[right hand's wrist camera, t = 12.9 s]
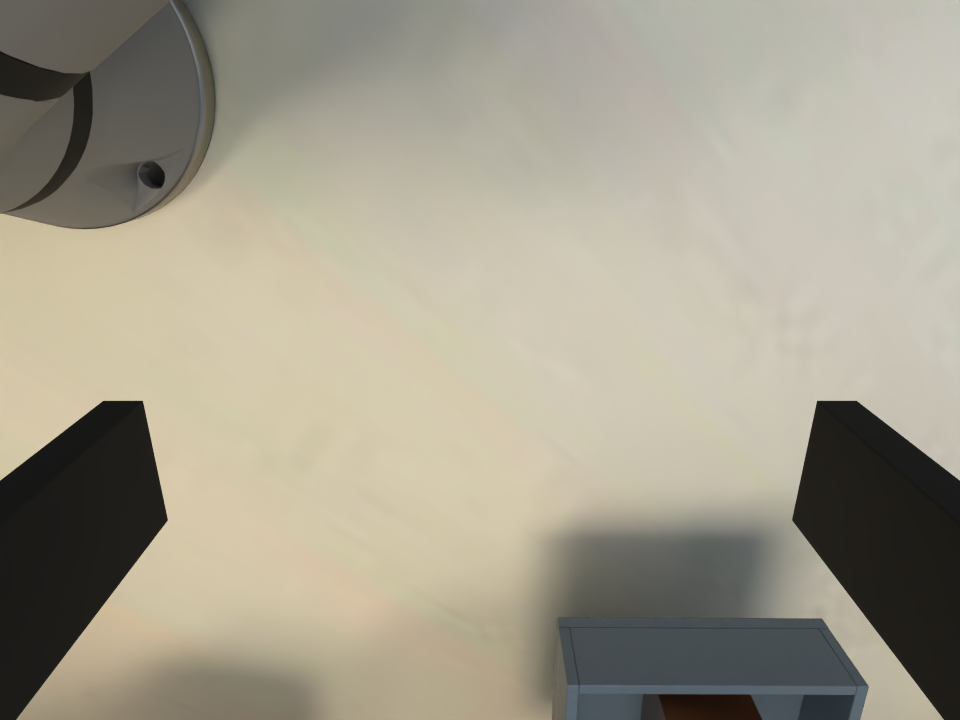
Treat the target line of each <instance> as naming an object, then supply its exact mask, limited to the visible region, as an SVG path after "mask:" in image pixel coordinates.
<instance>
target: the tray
mask: <svg viewBox="0 0 960 720" xmlns="http://www.w3.org/2000/svg"><path fill="white" fill-rule="evenodd" d="M868 688H869V687H868V685H867V683H866V682H865V680H864V679H863V677H862V676H861V675H860V673H859V672H858V670H857V669H856V667H855V666H854V664H853V663H852V662H851V660H850V659H849V657H848V656H847V654H846V653H845V651H844V650H843V649H842V647H841V646H840V644H839V643H838V641H837V640H836V638H835V637H834V636H833V634H832V633H831V631H830V630H829V628H828V627H827V625H826V624H825V622H824V621H823V619H792V618H557V629H556V648H555V668H554V687H553V706H552V720H641V712H642V703H643V694H749V695H751V696H752V699H753V701H754V703H755V705H756V707H757V709H758V711H759V713H760V715H761V718H762V720H860V718H861V714H862V710H863V706H864V703H865V699H866V695H867V692H868Z"/></svg>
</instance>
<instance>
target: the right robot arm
mask: <svg viewBox="0 0 960 720" xmlns="http://www.w3.org/2000/svg"><path fill="white" fill-rule="evenodd" d="M214 111H215V96H214V85H213V78H212V72H211V67H210V63H209V59H208V55H207V52H206V49H205V46H204V43H203V40H202V38H201V35H200V33H199V31H198V29H197V26H196V24H195V22H194V20H193V18H192V16H191V15H190V13H189V11H188V9H187V7H186V6H185V4H184V3H183V1H182V0H0V213H2V214H6V215H11V216H15V217H19V218H23V219H28V220H32V221H36V222H40V223H45V224H49V225H54V226H59V227H65V228H74V229H95V228H104V227H110V226H114V225H118V224H122V223H125V222H128V221H132V220H135V219H138V218H141V217H143V216H146V215H149V214H151V213H153V212H155V211H156V210H158V209H160V208H162V207H163V206H165V205H166V204H168V203H169V202H171V201H172V200H173V199H174V198H175V197H176V196H178V195H179V194H180V193H181V192H182V191H183V189H184V188H185V187H186V186H187V185H188V184H189V182H190V181H191V180H192V178H193V177H194V175H195V174H196V172H197V170H198V169H199V167H200V165H201V163H202V161H203V159H204V156H205V154H206V152H207V148H208V145H209V142H210V139H211V134H212V128H213V122H214ZM167 521H168V519H167V514H166V509H165V504H164V500H163V495H162V490H161V485H160V481H159V476H158V471H157V466H156V462H155V457H154V452H153V447H152V442H151V438H150V433H149V428H148V423H147V419H146V414H145V409H144V404H143V401H103V402H101V403H100V404H99V405H98V406H96V407H95V408H94V409H92V410H91V411H90V412H88V413H87V414H86V415H85V416H83V417H82V418H81V419H79V420H78V421H77V422H76V423H74V424H73V425H72V426H70V427H69V428H68V429H67V430H65V431H64V432H63V433H61V434H60V435H59V436H57V437H56V438H55V439H54V440H52V441H51V442H50V443H48V444H47V445H46V446H45V447H43V448H42V449H41V450H39V451H38V452H37V453H35V454H34V455H33V456H32V457H30V458H29V459H28V460H26V461H25V462H24V463H23V464H21V465H20V466H19V467H17V468H16V469H15V470H13V471H12V472H11V473H10V474H8V475H7V476H6V477H4V478H3V479H2V480H1V481H0V720H16V719H17V718H18V716H19V715H20V714H21V712H22V711H23V710H24V708H25V707H26V706H27V705H28V703H29V702H30V701H31V699H32V698H33V697H34V695H35V694H36V693H37V691H38V690H39V689H40V687H41V686H42V685H43V683H44V682H45V681H46V680H47V678H48V677H49V676H50V674H51V673H52V672H53V670H54V669H55V668H56V666H57V665H58V664H59V662H60V661H61V660H62V659H63V657H64V656H65V655H66V653H67V652H68V651H69V649H70V648H71V647H72V645H73V644H74V643H75V641H76V640H77V639H78V637H79V636H80V635H81V634H82V632H83V631H84V630H85V628H86V627H87V626H88V624H89V623H90V622H91V620H92V619H93V618H94V616H95V615H96V614H97V613H98V611H99V610H100V609H101V607H102V606H103V605H104V603H105V602H106V601H107V599H108V598H109V597H110V595H111V594H112V593H113V591H114V590H115V589H116V588H117V586H118V585H119V584H120V582H121V581H122V580H123V578H124V577H125V576H126V574H127V573H128V572H129V570H130V569H131V568H132V567H133V565H134V564H135V563H136V561H137V560H138V559H139V557H140V556H141V555H142V553H143V552H144V551H145V549H146V548H147V547H148V545H149V544H150V543H151V542H152V540H153V539H154V538H155V536H156V535H157V534H158V532H159V531H160V530H161V528H162V527H163V526H164V524H165V523H166V522H167ZM792 521H793V522H794V523H795V524H796V526H797V527H798V528H799V530H800V531H801V532H802V534H803V535H804V536H805V538H806V539H807V540H808V542H809V543H810V544H811V545H812V547H813V548H814V549H815V551H816V552H817V553H818V555H819V556H820V557H821V559H822V560H823V561H824V563H825V564H826V565H827V567H828V568H829V569H830V570H831V572H832V573H833V574H834V576H835V577H836V578H837V580H838V581H839V582H840V584H841V585H842V586H843V588H844V589H845V590H846V591H847V593H848V594H849V595H850V597H851V598H852V599H853V601H854V602H855V603H856V605H857V606H858V607H859V609H860V610H861V611H862V613H863V614H864V615H865V616H866V618H867V619H868V620H869V622H870V623H871V624H872V626H873V627H874V628H875V630H876V631H877V632H878V634H879V635H880V636H881V637H882V639H883V640H884V641H885V643H886V644H887V645H888V647H889V648H890V649H891V651H892V652H893V653H894V655H895V656H896V657H897V659H898V660H899V661H900V662H901V664H902V665H903V666H904V668H905V669H906V670H907V672H908V673H909V674H910V676H911V677H912V678H913V680H914V681H915V682H916V683H917V685H918V686H919V687H920V689H921V690H922V691H923V693H924V694H925V695H926V697H927V698H928V699H929V701H930V702H931V703H932V705H933V706H934V707H935V708H936V710H937V711H938V712H939V714H940V715H941V716H942V718H943V719H944V720H960V481H959V480H958V479H957V478H956V477H954V476H953V475H952V474H950V473H949V472H948V471H947V470H945V469H944V468H943V467H941V466H940V465H939V464H937V463H936V462H935V461H934V460H932V459H931V458H930V457H928V456H927V455H926V454H925V453H923V452H922V451H921V450H919V449H918V448H917V447H915V446H914V445H913V444H912V443H910V442H909V441H908V440H906V439H905V438H904V437H903V436H901V435H900V434H899V433H897V432H896V431H895V430H893V429H892V428H891V427H890V426H888V425H887V424H886V423H884V422H883V421H882V420H881V419H879V418H878V417H877V416H875V415H874V414H873V413H872V412H870V411H869V410H868V409H866V408H865V407H864V406H862V405H861V404H860V403H859V402H857V401H817V404H816V409H815V414H814V419H813V423H812V428H811V433H810V438H809V442H808V447H807V452H806V457H805V462H804V466H803V471H802V476H801V481H800V485H799V490H798V495H797V500H796V504H795V509H794V514H793V519H792Z"/></svg>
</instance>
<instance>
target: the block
mask: <svg viewBox="0 0 960 720" xmlns="http://www.w3.org/2000/svg"><path fill="white" fill-rule="evenodd" d="M641 720H762V718H761V715H760V713H759V711H758V709H757V707H756V705H755V703H754V701H753V699H752V696H751V695H749V694H643V703H642V712H641Z"/></svg>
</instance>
